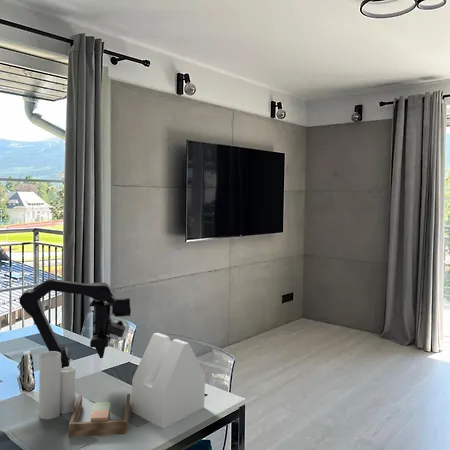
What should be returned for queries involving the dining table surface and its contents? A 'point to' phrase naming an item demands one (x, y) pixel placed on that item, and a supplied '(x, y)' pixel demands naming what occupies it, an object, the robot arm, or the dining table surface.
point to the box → (97, 423)
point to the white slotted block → (167, 382)
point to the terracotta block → (100, 415)
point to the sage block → (102, 407)
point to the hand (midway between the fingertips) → (101, 357)
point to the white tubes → (55, 386)
